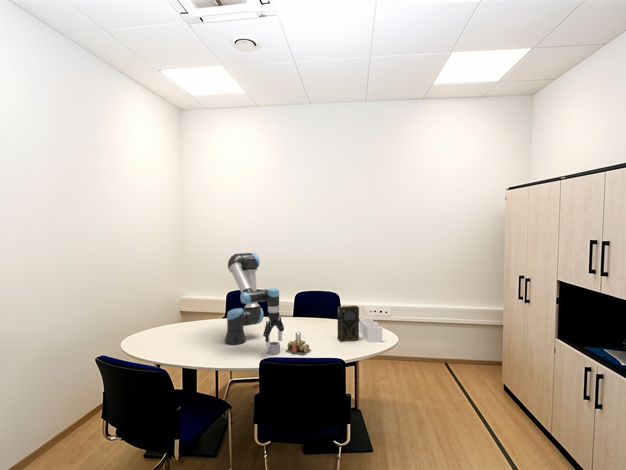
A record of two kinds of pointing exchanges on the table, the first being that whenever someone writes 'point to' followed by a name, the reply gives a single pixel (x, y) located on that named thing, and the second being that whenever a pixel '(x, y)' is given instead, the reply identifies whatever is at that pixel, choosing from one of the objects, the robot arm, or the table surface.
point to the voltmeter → (348, 323)
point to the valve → (298, 346)
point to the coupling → (274, 348)
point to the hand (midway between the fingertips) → (274, 343)
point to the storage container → (370, 330)
